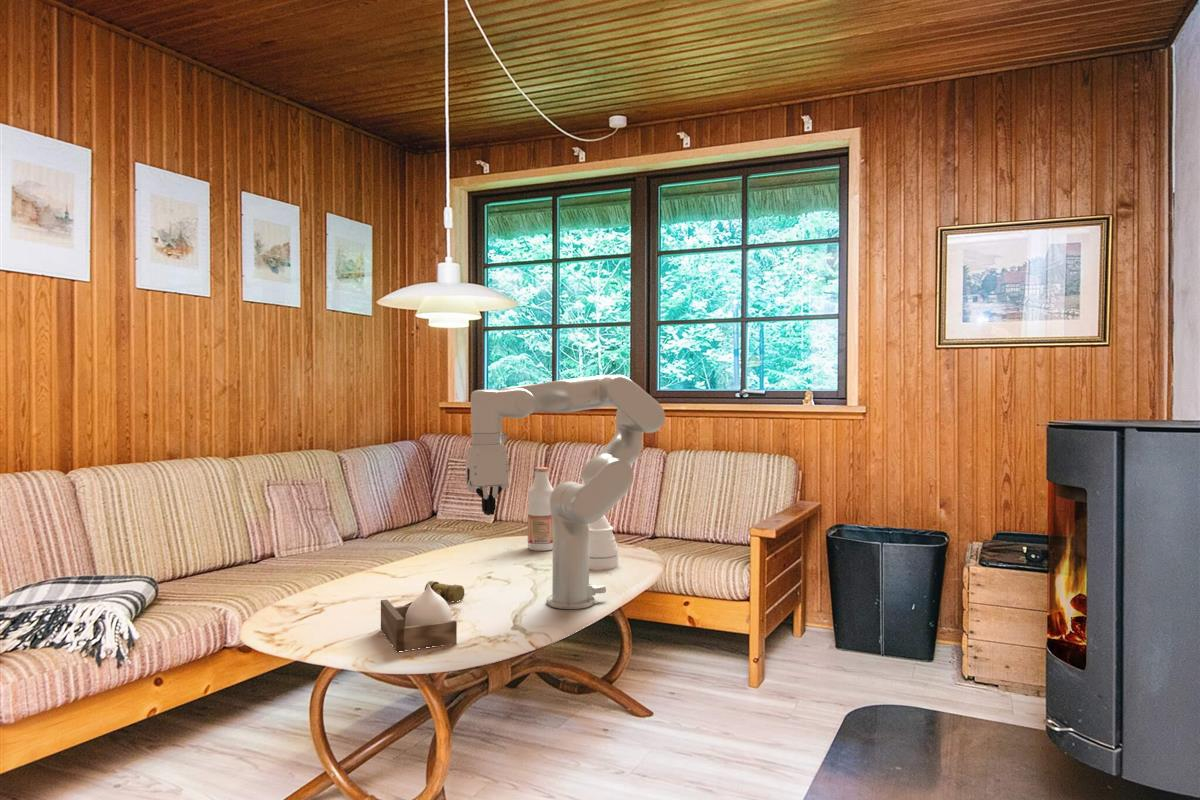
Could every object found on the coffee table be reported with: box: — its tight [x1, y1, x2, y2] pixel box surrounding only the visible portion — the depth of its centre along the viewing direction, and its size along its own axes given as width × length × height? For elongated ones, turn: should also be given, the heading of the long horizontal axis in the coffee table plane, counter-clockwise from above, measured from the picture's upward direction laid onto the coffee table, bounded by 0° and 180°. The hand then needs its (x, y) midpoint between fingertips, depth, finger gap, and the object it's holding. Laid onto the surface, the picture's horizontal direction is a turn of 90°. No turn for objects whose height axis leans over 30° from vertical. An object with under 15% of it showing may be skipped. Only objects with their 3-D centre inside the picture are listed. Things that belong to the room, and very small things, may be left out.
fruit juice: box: [527, 466, 554, 552], centre depth 274 cm, size 9×9×28 cm
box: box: [380, 599, 458, 653], centre depth 178 cm, size 13×17×7 cm
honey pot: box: [588, 515, 619, 570], centre depth 250 cm, size 13×13×18 cm
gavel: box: [403, 580, 465, 606], centre depth 203 cm, size 21×5×10 cm
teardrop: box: [405, 584, 453, 627], centre depth 180 cm, size 11×11×12 cm
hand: (488, 513), depth 195 cm, fingers closed
